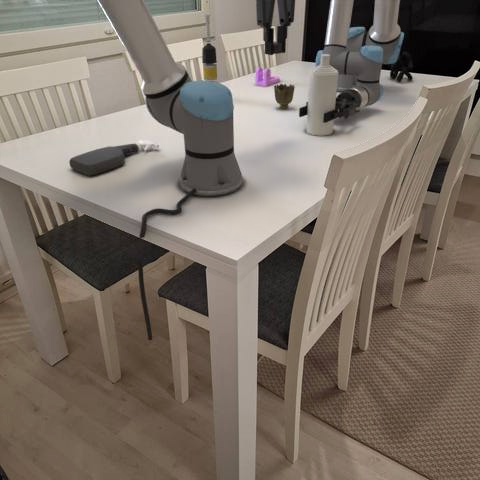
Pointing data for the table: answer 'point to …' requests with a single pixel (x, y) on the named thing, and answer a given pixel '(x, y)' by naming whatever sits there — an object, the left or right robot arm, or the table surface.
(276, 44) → the cap
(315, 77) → the bottle
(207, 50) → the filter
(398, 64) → the squiggle
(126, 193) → the table surface
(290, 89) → the cup
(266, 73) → the bracket
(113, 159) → the spray bottle
